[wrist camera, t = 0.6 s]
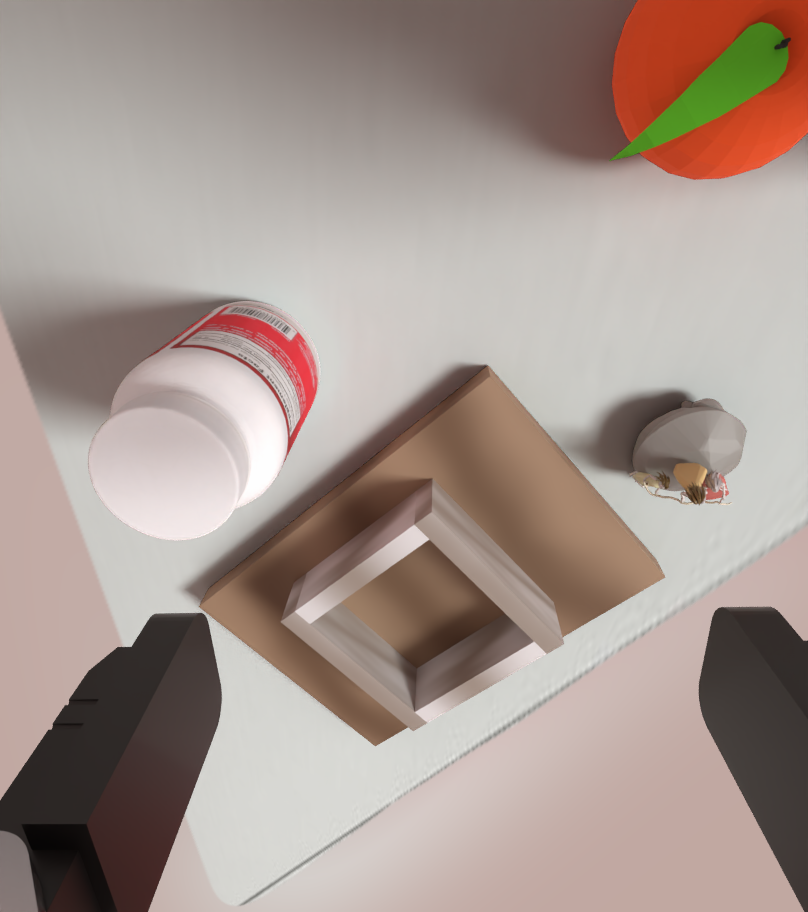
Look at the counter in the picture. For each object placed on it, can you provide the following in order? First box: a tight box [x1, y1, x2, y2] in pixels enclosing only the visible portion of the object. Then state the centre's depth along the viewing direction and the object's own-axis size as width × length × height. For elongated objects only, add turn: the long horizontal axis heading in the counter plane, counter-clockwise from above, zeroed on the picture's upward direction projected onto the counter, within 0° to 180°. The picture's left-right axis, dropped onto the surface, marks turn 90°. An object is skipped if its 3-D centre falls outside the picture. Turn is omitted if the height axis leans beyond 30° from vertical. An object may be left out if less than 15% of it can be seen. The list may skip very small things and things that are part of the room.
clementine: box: [609, 0, 808, 179], centre depth 20 cm, size 8×7×7 cm
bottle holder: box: [199, 366, 665, 746], centre depth 32 cm, size 20×14×4 cm
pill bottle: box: [88, 301, 321, 540], centre depth 24 cm, size 6×6×11 cm
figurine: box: [629, 399, 747, 505], centre depth 27 cm, size 5×4×6 cm
